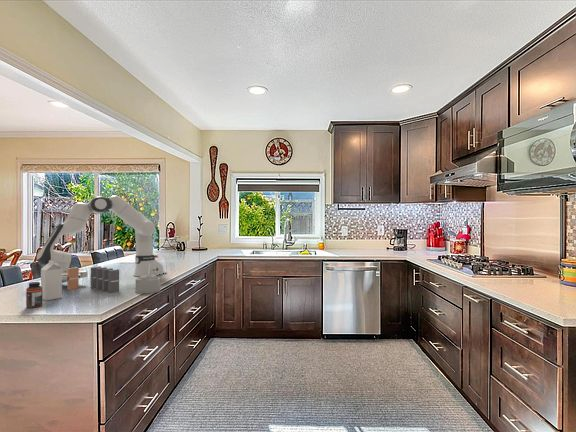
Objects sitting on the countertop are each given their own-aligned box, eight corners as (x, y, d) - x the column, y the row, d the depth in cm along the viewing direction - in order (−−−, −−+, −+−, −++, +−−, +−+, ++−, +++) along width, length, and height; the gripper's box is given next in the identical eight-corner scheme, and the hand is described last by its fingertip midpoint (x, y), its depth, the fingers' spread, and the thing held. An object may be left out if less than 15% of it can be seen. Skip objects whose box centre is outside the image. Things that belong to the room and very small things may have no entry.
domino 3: (102, 290, 186) (102, 269, 186) (111, 289, 190) (111, 268, 190) (104, 291, 185) (104, 269, 185) (112, 289, 189) (113, 268, 189)
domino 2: (96, 289, 189) (96, 268, 189) (105, 287, 194) (105, 267, 194) (98, 289, 188) (98, 268, 188) (106, 288, 192) (106, 267, 192)
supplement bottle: (23, 307, 152) (24, 282, 152) (39, 304, 157) (39, 280, 157) (29, 309, 149) (29, 284, 149) (44, 306, 154) (44, 282, 154)
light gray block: (145, 288, 193) (145, 273, 193) (164, 289, 190) (165, 274, 190) (132, 292, 183) (132, 276, 183) (153, 293, 180) (153, 277, 180)
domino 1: (90, 287, 193) (90, 267, 193) (99, 286, 197) (99, 266, 197) (92, 288, 192) (92, 267, 192) (101, 286, 196) (101, 266, 196)
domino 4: (108, 292, 182) (108, 270, 182) (117, 290, 186) (117, 269, 186) (110, 292, 181) (110, 270, 181) (119, 291, 185) (119, 269, 185)
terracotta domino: (67, 289, 189) (67, 268, 189) (76, 287, 193) (76, 267, 193) (68, 289, 188) (69, 268, 188) (78, 288, 192) (78, 267, 192)
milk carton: (45, 301, 163) (45, 262, 163) (40, 298, 168) (40, 261, 168) (62, 298, 169) (62, 261, 169) (56, 296, 173) (57, 259, 173)
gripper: (42, 272, 189) (53, 274, 181) (80, 267, 206) (92, 269, 198) (42, 283, 189) (52, 286, 181) (80, 277, 206) (92, 280, 198)
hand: (73, 277), depth 190 cm, fingers closed on terracotta domino, 5 cm apart
